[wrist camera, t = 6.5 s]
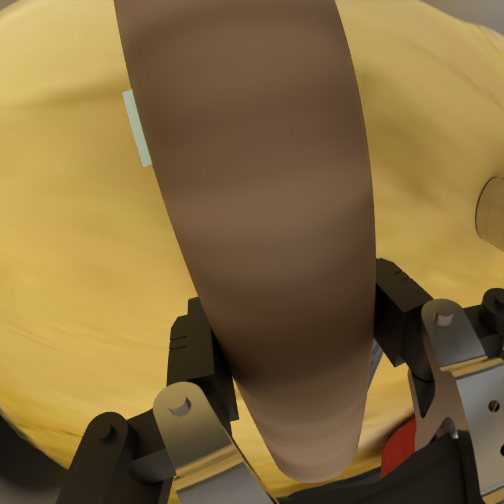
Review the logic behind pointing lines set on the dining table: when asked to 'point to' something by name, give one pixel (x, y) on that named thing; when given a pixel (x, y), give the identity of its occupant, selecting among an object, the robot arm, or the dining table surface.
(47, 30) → the dining table surface
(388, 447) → the mixing bowl
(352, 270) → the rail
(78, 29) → the dining table surface
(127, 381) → the dining table surface
